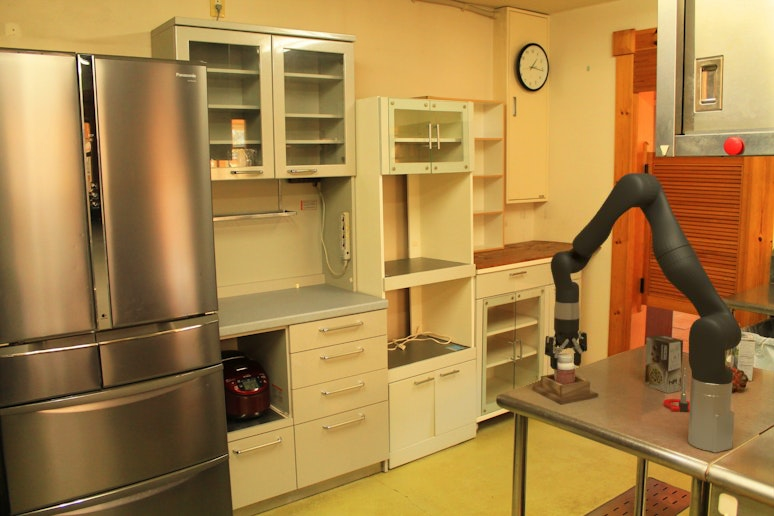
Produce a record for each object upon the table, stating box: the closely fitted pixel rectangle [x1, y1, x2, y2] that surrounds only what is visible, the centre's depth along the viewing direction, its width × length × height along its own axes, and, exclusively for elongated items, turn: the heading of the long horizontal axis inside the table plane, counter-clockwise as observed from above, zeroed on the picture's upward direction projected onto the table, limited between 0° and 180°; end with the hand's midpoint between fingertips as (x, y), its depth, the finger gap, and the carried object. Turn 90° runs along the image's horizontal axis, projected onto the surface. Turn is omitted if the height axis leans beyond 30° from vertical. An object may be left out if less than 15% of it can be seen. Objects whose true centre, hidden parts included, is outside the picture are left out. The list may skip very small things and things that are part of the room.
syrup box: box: [729, 332, 756, 382], centre depth 214 cm, size 6×6×14 cm
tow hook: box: [662, 366, 690, 413], centre depth 191 cm, size 8×13×9 cm
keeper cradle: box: [532, 373, 599, 406], centre depth 203 cm, size 14×14×5 cm
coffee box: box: [644, 334, 684, 394], centre depth 206 cm, size 9×6×16 cm
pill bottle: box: [553, 353, 576, 385], centre depth 202 cm, size 6×6×11 cm
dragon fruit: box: [728, 366, 749, 392], centre depth 204 cm, size 8×8×12 cm
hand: (565, 367), depth 202 cm, fingers open, 8 cm apart
